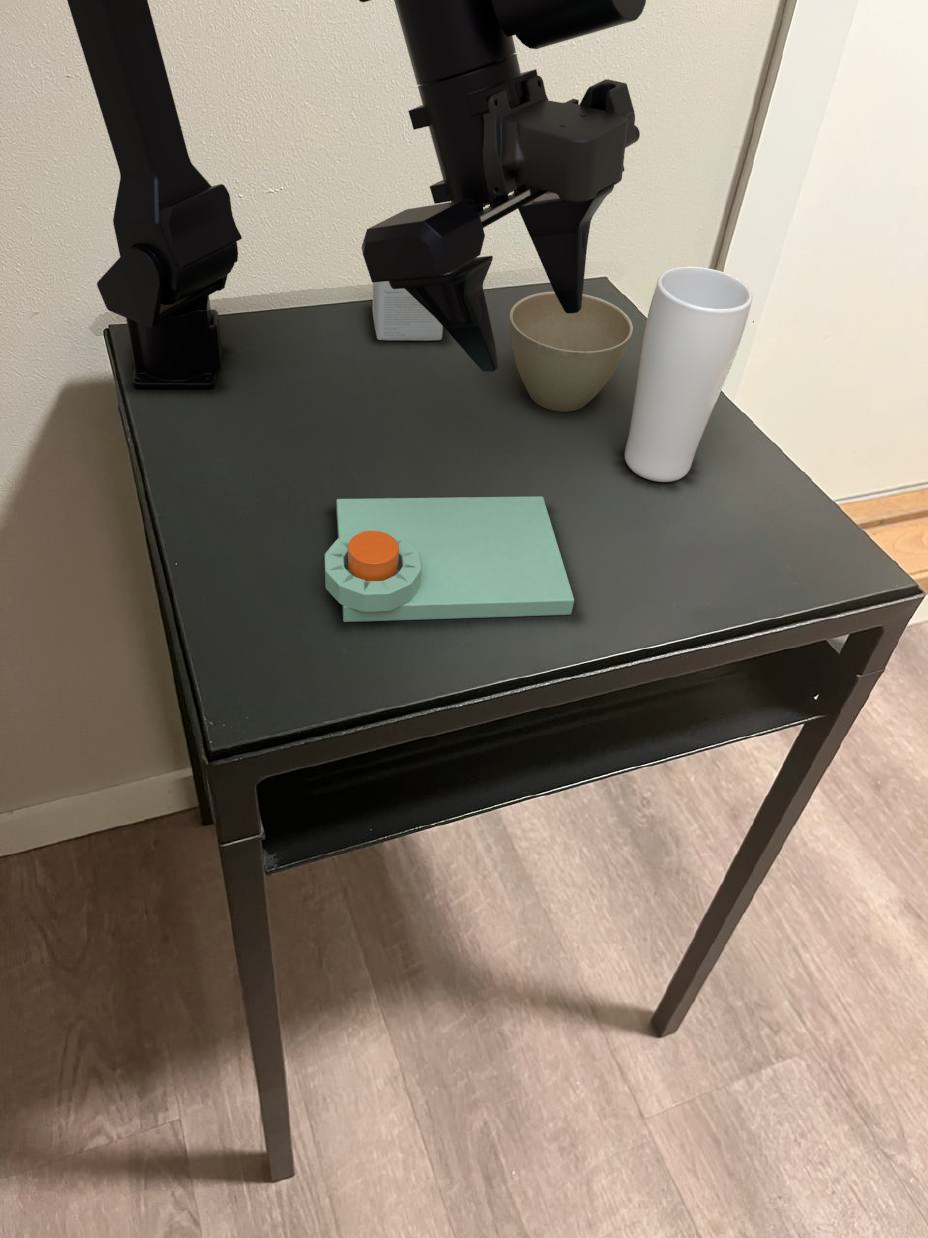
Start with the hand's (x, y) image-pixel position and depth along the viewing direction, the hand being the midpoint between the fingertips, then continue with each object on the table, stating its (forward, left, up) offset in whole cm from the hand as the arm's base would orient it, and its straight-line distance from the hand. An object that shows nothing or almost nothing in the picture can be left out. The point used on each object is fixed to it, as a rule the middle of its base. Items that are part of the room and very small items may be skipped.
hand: (533, 340), depth 62 cm
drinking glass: (+13, +5, -14) cm, 20 cm away
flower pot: (+7, +15, -14) cm, 22 cm away
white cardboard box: (-5, +27, -14) cm, 31 cm away
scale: (-5, -6, -14) cm, 16 cm away
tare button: (-11, -9, -11) cm, 18 cm away
